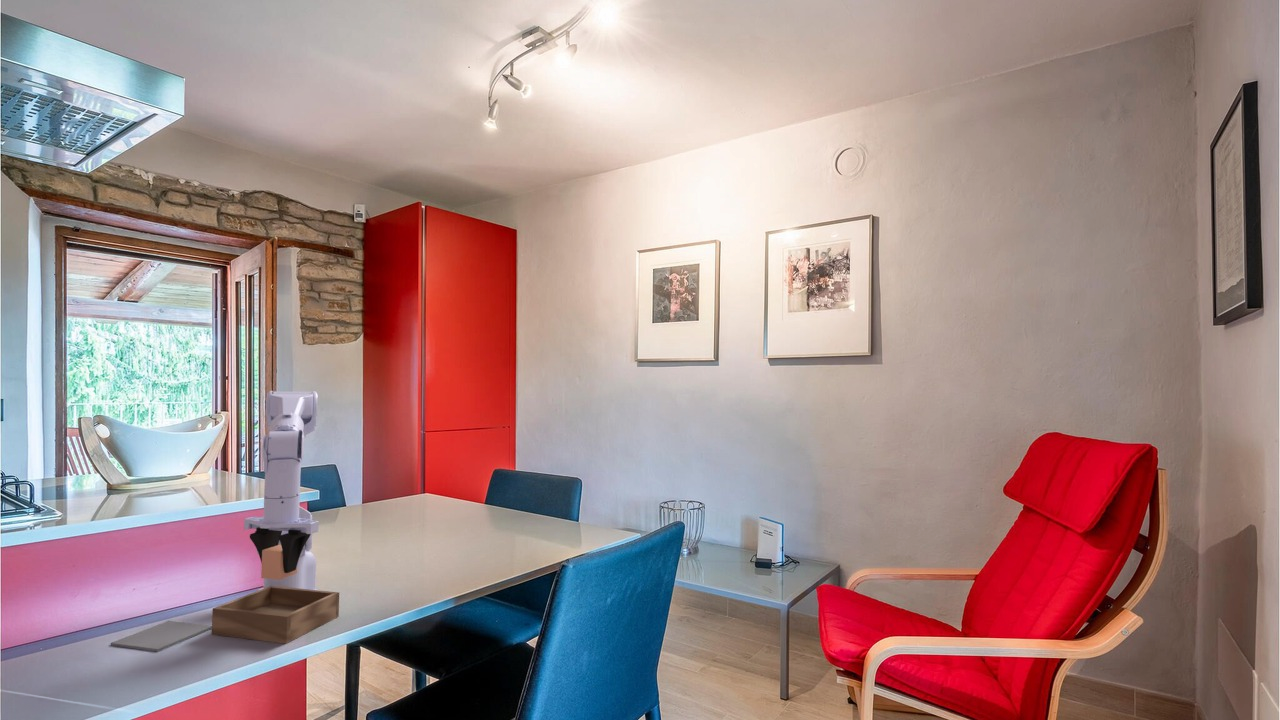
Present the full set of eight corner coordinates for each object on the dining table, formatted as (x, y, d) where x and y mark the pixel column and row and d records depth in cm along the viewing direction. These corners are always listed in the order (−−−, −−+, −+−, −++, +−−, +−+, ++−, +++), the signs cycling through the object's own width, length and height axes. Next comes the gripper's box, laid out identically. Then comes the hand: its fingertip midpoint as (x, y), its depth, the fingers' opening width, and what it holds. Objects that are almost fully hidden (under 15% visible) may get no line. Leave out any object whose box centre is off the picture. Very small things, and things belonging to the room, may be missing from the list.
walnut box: (269, 609, 119) (270, 585, 119) (338, 616, 116) (339, 592, 116) (211, 634, 107) (212, 608, 107) (286, 643, 103) (287, 616, 104)
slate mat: (168, 622, 112) (168, 620, 112) (213, 628, 110) (213, 625, 110) (110, 645, 102) (110, 642, 102) (158, 651, 100) (158, 649, 100)
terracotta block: (278, 571, 114) (279, 544, 114) (296, 573, 113) (297, 546, 113) (261, 578, 110) (262, 550, 110) (279, 579, 109) (280, 551, 109)
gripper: (230, 497, 110) (227, 573, 109) (298, 502, 107) (296, 580, 106) (263, 491, 117) (260, 562, 116) (327, 495, 114) (325, 568, 113)
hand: (279, 570), depth 112 cm, fingers closed on terracotta block, 4 cm apart
